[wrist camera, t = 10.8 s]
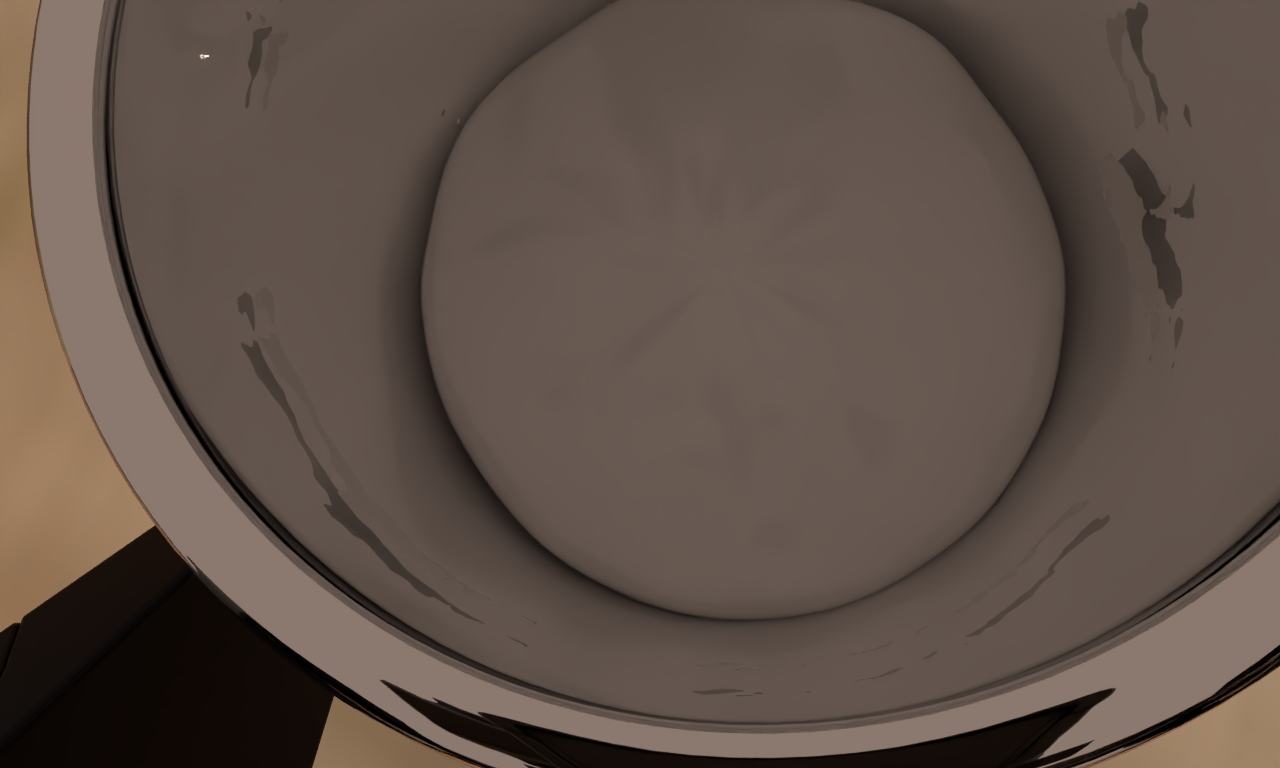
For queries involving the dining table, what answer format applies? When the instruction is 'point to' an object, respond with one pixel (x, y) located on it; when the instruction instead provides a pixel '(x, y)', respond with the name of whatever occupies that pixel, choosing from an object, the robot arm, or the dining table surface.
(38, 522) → the dining table surface
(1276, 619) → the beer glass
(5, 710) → the robot arm
